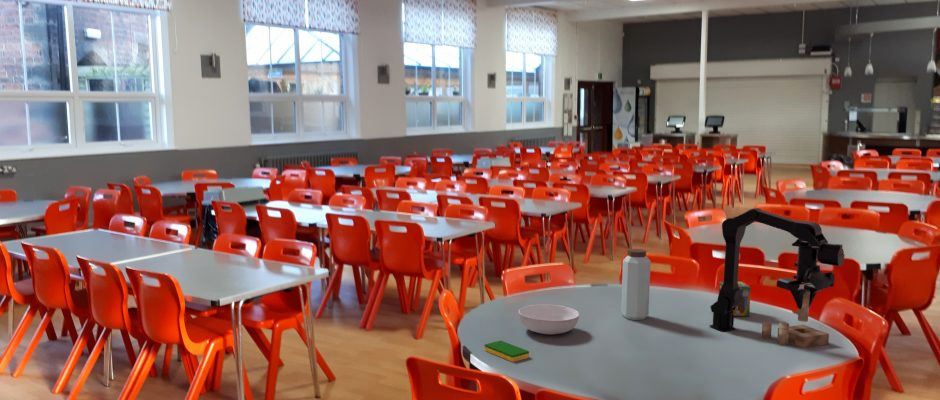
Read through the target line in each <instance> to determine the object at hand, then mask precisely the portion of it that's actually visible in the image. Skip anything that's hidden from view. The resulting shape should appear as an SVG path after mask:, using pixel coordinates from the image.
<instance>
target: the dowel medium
mask: <svg viewBox="0 0 940 400" xmlns="http://www.w3.org/2000/svg"><path fill="white" fill-rule="evenodd" d="M789 326H790V323H789V322H785V321H780V322H779V324H778V328H779V336H778V335H777V340H778V341H777V343H778V345H780V346H788V344H789V342H788V335H789Z"/></svg>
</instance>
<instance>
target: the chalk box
mask: <svg viewBox="0 0 940 400" xmlns="http://www.w3.org/2000/svg"><path fill="white" fill-rule="evenodd" d="M723 282H724V281H719V286H718V292H719V291H720V289H721V287H722V285H723ZM738 286H739V288H740V289H743V300H741V303H740V304H739V305H738V306H737V307H736V309H735V310H733V315H734V317H750V313H751V312H750V311H751V309H750V308H751V307H750V306H751V286H750V285H749V284H747V283H745V282H743V281H738Z"/></svg>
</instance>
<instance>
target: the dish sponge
mask: <svg viewBox="0 0 940 400" xmlns="http://www.w3.org/2000/svg"><path fill="white" fill-rule="evenodd" d="M484 351H485V352H486V353H489V354H491V355H494V356H497V357H500V358H502V359H504V360H507V361H508V362H511V363H514V362H515V363H516V362H518V361H522V360H526V359H528V358H530V350H527V349H524V348H521V347H519V346H516V345H514V344H511V343H508V342H506V341H503V340H497V341H493V342H490V343H485V344H484Z"/></svg>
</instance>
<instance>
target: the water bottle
mask: <svg viewBox="0 0 940 400" xmlns="http://www.w3.org/2000/svg"><path fill="white" fill-rule="evenodd" d="M621 274H622V276H621V304H620V305H621V307H620V308H621V309H620V314H621V315H622V318H625V319H627V320H632V321H640V320H645V319H646V318H647V317H648V315H649V312H650V284H651V283H650V282H651V281H650V280H651V260H650V259H649V257H648V256H647V250H646V249H641V248H640V249H639V248H631V249H628V250H627V256H625V258H624V259H623V260H622V273H621Z"/></svg>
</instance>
